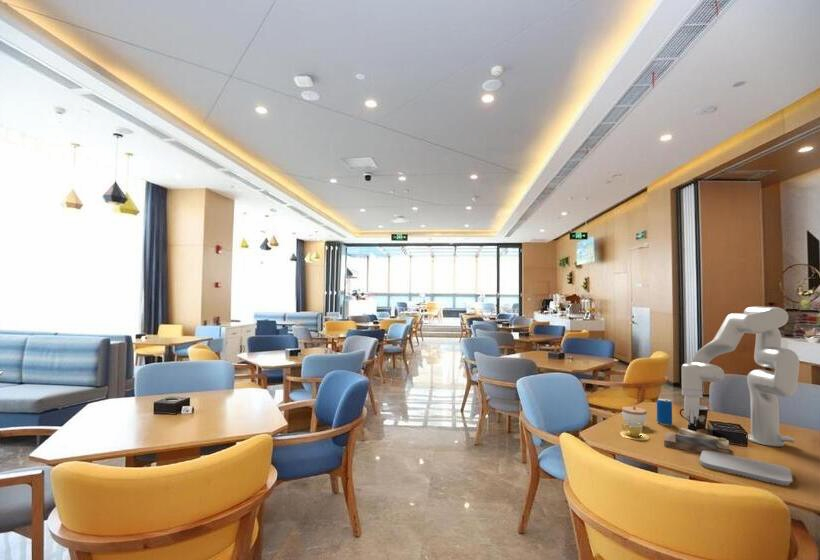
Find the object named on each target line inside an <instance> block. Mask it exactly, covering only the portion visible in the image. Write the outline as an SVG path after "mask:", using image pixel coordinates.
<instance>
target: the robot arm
mask: <svg viewBox="0 0 820 560" xmlns="http://www.w3.org/2000/svg"><path fill="white" fill-rule="evenodd" d="M788 321H789V314H788V311H786V310H785V309H784V308H781V307H779V306H776V307H775V306H763V305H762V306H761V305H760V306H755V305H754V306H748V307H746V308H745V309H744V310H743V312H742V313H741V312H740V313H739V312H738V313H737V312H733V313H729V314H727V316H726V317H725V318H724V320H723V322H722V324H721V325H720V327H719V330H717V333H716V334H715V335H714V338H713V339H712V340H711V341H709V342H708V343H706V344H705V345H704V346H702V347H701V348H700V349H698V350H697V352H695V353H694V355H693V357H692V359H691V360H690V363H683V364H682V365H681V395H682V396H684V401H683V402H684V403H683V405H684V407H683V409H684V410H683V411H684V412H683V414H684V415H683V417H684V418H685V419H684V418H683V419H684V420H686V419H688V420H687V422H688V424H687V429H689V430H692V431H696V432H698V429H697V425H696V420H698V415H699V405H700V398H703V382H710V383H718V382H721V381H722V380H724V378H725V376H726V375H725V371H724V369H723V368H722V367H720V366H719V365H715V364H712V363H710V362H711V361H712V360H713V359H715V358H716V357H718V356H721V355H724V354H727V353H731V352H734V351H735V350H736V348H737V346H738V345H739V343H740V342H741V341H742V337H743V336H744V334H745V333H746V334H754V335H755V343H754V344H755V345H754V353H753V354H754V355H753V359H754V362H755V364H757V365H758V366H761V367H764V368H768V369H774V371H772V370H767V369H766V370H765V369H761V368H760V369H759V368H758V369H757V368H756V369H753V370H751V371H749V373H748V374H747V377H746V380H747V381H746V383H747V386H748V390H749V398H750V401H749V402H750V433H749V434H747V435H748V439H747V440H748V441H750V442H753V443H755V444H759V445H764V446H769V447H777V448H778V447H784V446H785V442H789V443H793V444H794V443H795V438H794V437H790V436H789V435H787V436H786V435H782V434H781V433H780V405H779V400H778V397H783V398H785V397H786V398H787V397H788V398H789V397H792V396H793V395H795V393H796V391H797V389H798V384H799V373H800V363H801V362H800V359H799V356H798V354H797V352H795V351H794V350H792V349H789V348H784V347H782V334H781V331H780V330H779V328H781V327H783V326H785V325H786V324H787V323H788ZM777 396H778V397H777Z"/></svg>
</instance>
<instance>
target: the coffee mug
mask: <svg viewBox="0 0 820 560" xmlns="http://www.w3.org/2000/svg"><path fill="white" fill-rule="evenodd" d="M682 411H684V408H681V409H680V410H679V415H680V416H681V417H682V418H683V419H684V420H686V421H688V418H686V419H685V418H684V415H683V414H682ZM708 412H709V408H708V406H704V405H700V404H699V415H698V420H696V425H697V430H699V429H704V430H706V429H707V428H706V427H707V419H708ZM705 428H706V429H705Z"/></svg>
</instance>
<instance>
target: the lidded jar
mask: <svg viewBox="0 0 820 560" xmlns="http://www.w3.org/2000/svg"><path fill="white" fill-rule="evenodd" d="M621 413H622V414H621V415H622V418H623V420H624V422H625V424H626V423H628V422H634V423H639V424H641V425H642V426H643V425H645V424H646V422H647V421H646V420H647V413H648V412H647V410H646V409H645V408H642V407H638V406H637V407H636V405H633V406H622V407H621Z"/></svg>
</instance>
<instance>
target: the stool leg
mask: <svg viewBox="0 0 820 560" xmlns="http://www.w3.org/2000/svg"><path fill="white" fill-rule="evenodd" d="M678 434H681V435H686V436H692V437H698V438H703V439H709V440H715V441H717V447H719V448H722V449H728V448H729V449H730V444H729V443H730V440H727V438H724V437H717V436H714V435H710V434H706V433H703V432H699V431H697V432H696V431H692V430H689V429H688V428H685V427H681V428H679V429H678Z"/></svg>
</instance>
